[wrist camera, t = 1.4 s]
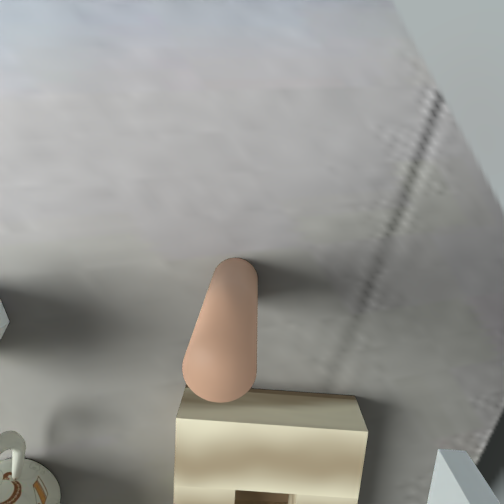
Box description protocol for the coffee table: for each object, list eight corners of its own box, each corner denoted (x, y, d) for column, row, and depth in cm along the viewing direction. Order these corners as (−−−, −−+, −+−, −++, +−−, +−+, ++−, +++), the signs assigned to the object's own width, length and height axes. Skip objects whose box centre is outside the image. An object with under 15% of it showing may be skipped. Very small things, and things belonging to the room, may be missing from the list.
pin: (214, 256, 29) (183, 332, 17) (259, 259, 29) (259, 337, 17) (211, 299, 30) (181, 400, 18) (256, 302, 30) (254, 405, 18)
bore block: (186, 383, 31) (176, 417, 27) (354, 395, 31) (368, 431, 27) (180, 543, 35) (170, 593, 31) (332, 553, 35) (341, 605, 31)
